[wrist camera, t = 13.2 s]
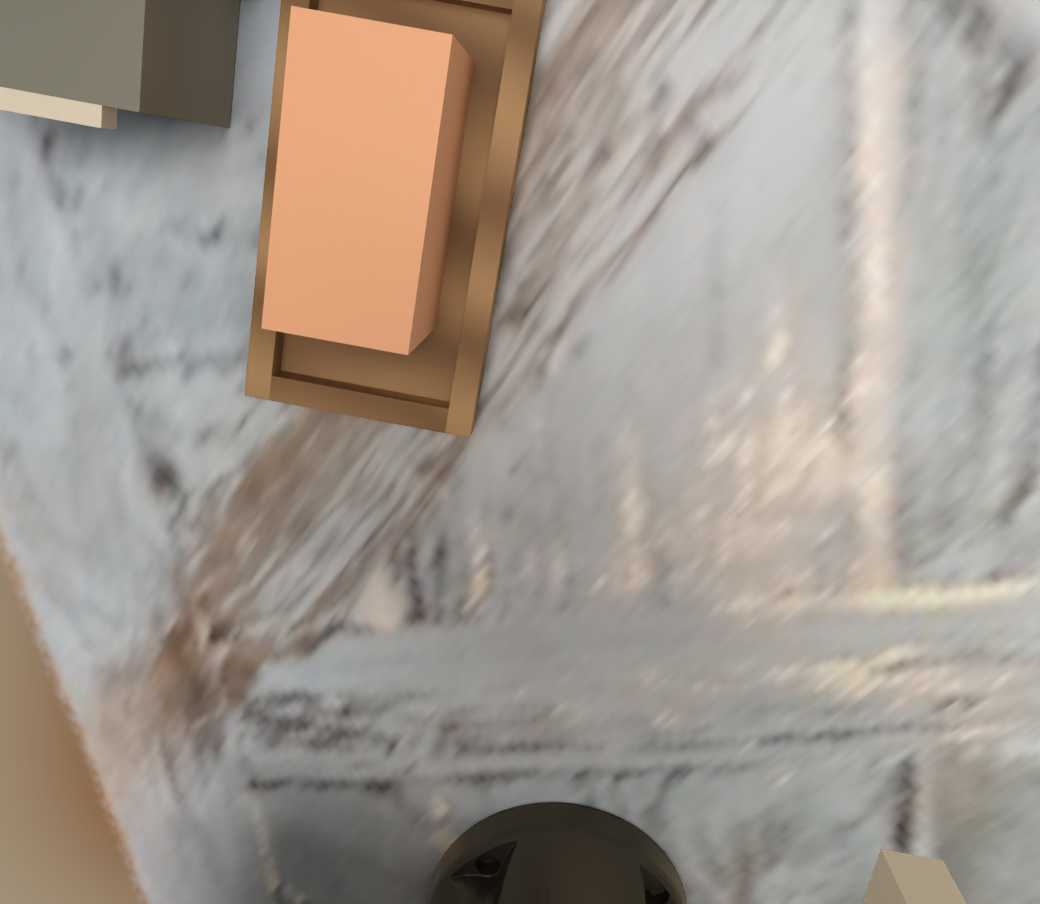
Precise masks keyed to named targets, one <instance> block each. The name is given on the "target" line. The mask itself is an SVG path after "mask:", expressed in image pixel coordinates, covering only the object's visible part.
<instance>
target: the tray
mask: <svg viewBox="0 0 1040 904" xmlns="http://www.w3.org/2000/svg"><path fill="white" fill-rule="evenodd" d="M545 3H546V0H281V9H280V20H279V31H278V42H277V52H276V63H275V74H274V85H273V95H272V106H271V117H270V127H269V138H268V149H267V160H266V170H265V181H264V192H263V203H262V213H261V224H260V235H259V246H258V256H257V267H256V278H255V289H254V299H253V310H252V321H251V332H250V342H249V353H248V364H247V375H246V385H245V396H251V397H256V398H261V399H267V400H272V401H277V402H283V403H288V404H293V405H299V406H304V407H309V408H315V409H320V410H325V411H331V412H336V413H341V414H347V415H352V416H357V417H363V418H368V419H373V420H379V421H384V422H389V423H395V424H400V425H406V426H411V427H416V428H422V429H427V430H432V431H438V432H443V433H448V434H454V435H459V436H464V437H470V435H471V433H472V431H473V429H474V425H475V419H476V413H477V407H478V401H479V395H480V389H481V383H482V377H483V371H484V365H485V359H486V354H487V348H488V342H489V336H490V330H491V324H492V318H493V312H494V306H495V300H496V294H497V288H498V282H499V276H500V270H501V264H502V258H503V253H504V247H505V241H506V235H507V229H508V223H509V217H510V211H511V205H512V199H513V193H514V187H515V181H516V175H517V169H518V163H519V157H520V151H521V146H522V140H523V134H524V128H525V122H526V116H527V110H528V104H529V98H530V92H531V86H532V80H533V74H534V68H535V62H536V56H537V50H538V45H539V39H540V33H541V27H542V21H543V15H544V9H545ZM291 6H296V7H301V8H307V9H312V10H318V11H324V12H329V13H335V14H340V15H346V16H352V17H357V18H363V19H368V20H374V21H380V22H385V23H391V24H396V25H402V26H407V27H413V28H419V29H424V30H430V31H435V32H441V33H447V34H452V35H453V36H454V37H455V38H456V39H457V40H458V42H459V43H460V44H461V45H462V47H463V48H464V49H465V50H466V51H467V53H468V54H469V55H470V56H471V58H472V59H473V60H474V61H475V63H474V70H473V77H472V84H471V91H470V97H469V104H468V111H467V118H466V125H465V131H464V138H463V145H462V152H461V159H460V165H459V172H458V179H457V186H456V193H455V199H454V206H453V213H452V220H451V227H450V234H449V240H448V247H447V254H446V261H445V268H444V274H443V281H442V288H441V295H440V302H439V308H438V315H437V322H436V328H435V329H434V330H433V331H432V332H431V333H430V334H429V335H428V336H427V337H426V338H425V339H424V340H423V341H422V342H421V343H420V344H419V345H418V346H417V347H416V348H415V349H414V350H413V351H412V352H411V353H410V354H409V355H404V354H399V353H393V352H388V351H382V350H377V349H371V348H366V347H360V346H355V345H349V344H344V343H338V342H333V341H327V340H322V339H316V338H311V337H305V336H300V335H294V334H289V333H284V332H278V331H273V330H267V329H262V328H261V327H262V316H263V305H264V294H265V283H266V273H267V262H268V251H269V240H270V229H271V218H272V208H273V197H274V186H275V175H276V164H277V153H278V143H279V132H280V121H281V110H282V99H283V88H284V78H285V67H286V56H287V45H288V34H289V23H290V13H291Z"/></svg>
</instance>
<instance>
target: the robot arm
mask: <svg viewBox="0 0 1040 904" xmlns="http://www.w3.org/2000/svg"><path fill="white" fill-rule="evenodd" d="M427 904H687V901H686V896H685V891H684V888H683V885H682V882H681V880H680V878H679V875H678V873H677V871H676V870H675V868H674V866H673V865H672V863H671V861H670V860H669V859H668V857H667V856H666V855H665V853H664V852H663V851H662V850H661V849H660V848H659V847H658V846H657V845H656V844H655V843H654V842H653V841H652V840H651V839H650V838H649V837H647V836H646V835H645V834H644V833H642V832H641V831H640V830H638V829H637V828H635V827H634V826H632V825H630V824H629V823H627V822H625V821H623V820H621V819H619V818H617V817H615V816H612V815H610V814H607V813H604V812H602V811H598V810H595V809H591V808H587V807H582V806H576V805H568V804H537V805H529V806H523V807H518V808H514V809H511V810H507V811H504V812H501V813H499V814H496V815H494V816H492V817H489V818H487V819H485V820H484V821H482V822H480V823H478V824H477V825H475V826H474V827H472V828H471V829H469V830H468V831H467V832H465V833H464V834H463V835H462V836H461V837H460V838H459V839H457V840H456V842H455V843H454V844H453V845H452V846H451V847H450V848H449V850H448V851H447V852H446V853H445V855H444V856H443V858H442V860H441V861H440V863H439V865H438V867H437V869H436V871H435V874H434V876H433V880H432V883H431V887H430V892H429V897H428V901H427ZM862 904H966V902H965V900H964V899H963V897H962V895H961V893H960V891H959V889H958V888H957V886H956V884H955V882H954V880H953V878H952V876H951V875H950V873H949V871H948V869H947V867H946V865H945V864H944V862H943V861H941V860H936V859H931V858H926V857H920V856H915V855H910V854H905V853H899V852H894V851H889V850H884V849H881V851H880V854H879V857H878V860H877V863H876V866H875V869H874V872H873V875H872V877H871V880H870V883H869V886H868V889H867V892H866V895H865V898H864V900H863V903H862Z"/></svg>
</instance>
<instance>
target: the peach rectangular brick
mask: <svg viewBox="0 0 1040 904" xmlns="http://www.w3.org/2000/svg"><path fill="white" fill-rule="evenodd" d="M474 63H475V61H474V60H473V59H472V58H471V56H470V55H469V54H468V53H467V51H466V50H465V49H464V48H463V47H462V45H461V44H460V43H459V42H458V40H457V39H456V38H455V37H454V36H453V35H452V34H447V33H441V32H435V31H430V30H424V29H419V28H413V27H407V26H402V25H396V24H391V23H385V22H380V21H374V20H368V19H363V18H357V17H352V16H346V15H340V14H335V13H329V12H324V11H318V10H312V9H307V8H301V7H296V6H291V13H290V23H289V34H288V45H287V56H286V67H285V78H284V88H283V99H282V110H281V121H280V132H279V143H278V153H277V164H276V175H275V186H274V197H273V208H272V218H271V229H270V240H269V251H268V262H267V273H266V283H265V294H264V305H263V316H262V327H261V328H262V329H267V330H273V331H278V332H284V333H289V334H294V335H300V336H305V337H311V338H316V339H322V340H327V341H333V342H338V343H344V344H349V345H355V346H360V347H366V348H371V349H377V350H382V351H388V352H393V353H399V354H404V355H409V354H410V353H411V352H412V351H413V350H414V349H415V348H416V347H417V346H418V345H419V344H420V343H421V342H422V341H423V340H424V339H425V338H426V337H427V336H428V335H429V334H430V333H431V332H432V331H433V330H434V329H435V328H436V322H437V315H438V308H439V302H440V295H441V288H442V281H443V274H444V268H445V261H446V254H447V247H448V240H449V234H450V227H451V220H452V213H453V206H454V199H455V193H456V186H457V179H458V172H459V165H460V159H461V152H462V145H463V138H464V131H465V125H466V118H467V111H468V104H469V97H470V91H471V84H472V77H473V70H474Z"/></svg>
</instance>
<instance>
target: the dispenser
mask: <svg viewBox="0 0 1040 904" xmlns="http://www.w3.org/2000/svg"><path fill="white" fill-rule="evenodd" d="M239 10H240V0H0V110H5V111H11V112H16V113H22V114H27V115H32V116H38V117H43V118H49V119H54V120H60V121H65V122H70V123H76V124H81V125H87V126H92V127H97V128H104V129H112V130H117V111H118V109H124V110H129V111H134V112H140V113H146V114H152V115H157V116H163V117H169V118H175V119H181V120H187V121H192V122H198V123H204V124H210V125H216V126H222V127H228V128H230V120H231V108H232V96H233V83H234V71H235V59H236V46H237V34H238V22H239Z"/></svg>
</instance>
